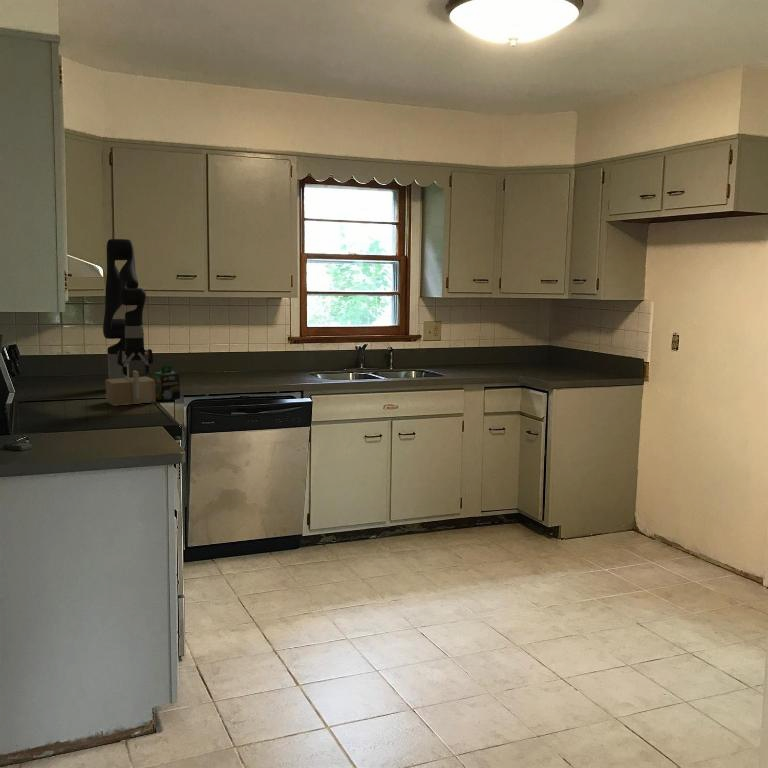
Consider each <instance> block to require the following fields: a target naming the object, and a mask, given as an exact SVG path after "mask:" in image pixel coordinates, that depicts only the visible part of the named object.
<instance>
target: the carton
mask: <svg viewBox="0 0 768 768" xmlns="http://www.w3.org/2000/svg"><path fill="white" fill-rule="evenodd" d="M142 381H151V389H152V401H155V402H157V401H156V399H157V398H156V397H155V380H153V378H151V377H149V376H139V382H142ZM132 382H133V376H132V377H130V376H129V377H127V378H119V379H109V378H108V379H107V378H106V379H105V399H106V400H105V401H107V402H110V403H112V404H124V403H133V398H132ZM107 402H106V403H107Z"/></svg>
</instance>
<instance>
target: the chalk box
mask: <svg viewBox="0 0 768 768" xmlns="http://www.w3.org/2000/svg"><path fill="white" fill-rule="evenodd" d="M165 369H167V370H165ZM180 378H181V377H180V373H179V372H176V371H174V370H172V365H171V364H169V365H162V366H161V371H157V372H156V371H155V372H153V373H152V379H153V380H155V397H156V399H158V400H160V401H165V400H173V399H174V400H175V399H176V400H177V399H180V398H181V389H180V388H181V385H180V384H181V383H180Z"/></svg>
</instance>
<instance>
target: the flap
mask: <svg viewBox="0 0 768 768" xmlns="http://www.w3.org/2000/svg"><path fill="white" fill-rule="evenodd" d="M132 377H133V382H132V398H133V404H134V403H145V402H151V401H152V389H151V381H142V382H139V377H140V374H139V371H137V370H132Z"/></svg>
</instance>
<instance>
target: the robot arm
mask: <svg viewBox="0 0 768 768" xmlns="http://www.w3.org/2000/svg"><path fill="white" fill-rule="evenodd" d="M135 257H136V256H135V247H134V244H133V242H132V240H131V239H128V238H127V239H126V238H125V239H124V238H109V239H108V240H107V242H106V280H105V306H104V316H103V324H102V332H103V333H102V334H103V337H104V338H105V339H108V340H115V339H116V340H117V339H118V340H119V341H118V342H117V343H115V344H113V345H110V346H108V347H107V348H106V350H107V367H108V369H107V370H108V372H107V373H108V379H119V378H127V377H130V362H131V361H132V362H133V361H140V360H141V362H143V363H144V365H143V366H144V367H143V368H144V374H145V375H148V374H149V373H150V365H151V364H153V363H154V359H153V358H154V357H153V349H150V348H148V349H145V340H144V339H145V338H144V337H145V333H144V324H143V323H144V322H143V314H144V313H143V312H144V307H145V304H146V299H147V294H146V291H145V290H144V289H143V288H140V287H139V281H138V277H137V272H136V259H135ZM116 261H125V264H124V265H123V266H122V267H121V268H120V271H119V270H118V267H117V266H116V264H115V262H116ZM122 305H123V306H136V307H135V309H133V310H128V311H125V313H124V318H114V316H115V314H116V312H117V311H118V310H119V309H120V308H121V306H122ZM145 354H146V355H147V357H148V360H147V359H146V357H144V356H145Z"/></svg>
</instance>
